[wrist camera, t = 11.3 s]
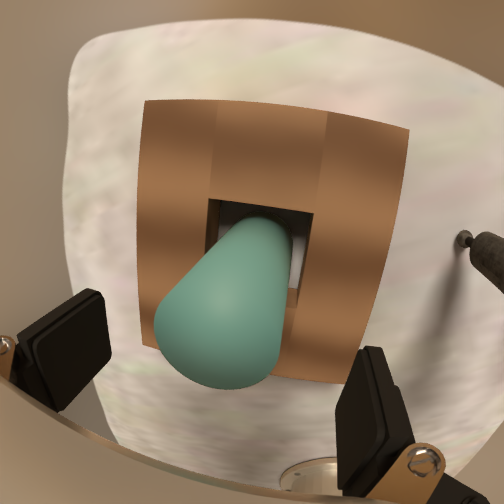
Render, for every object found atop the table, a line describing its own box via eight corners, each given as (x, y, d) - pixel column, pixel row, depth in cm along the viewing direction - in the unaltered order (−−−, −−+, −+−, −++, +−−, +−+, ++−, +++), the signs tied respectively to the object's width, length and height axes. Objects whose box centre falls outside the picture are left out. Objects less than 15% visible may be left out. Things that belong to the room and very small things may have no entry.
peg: (287, 276, 21) (269, 399, 10) (227, 266, 22) (157, 373, 10) (297, 216, 20) (290, 296, 9) (233, 207, 20) (151, 270, 9)
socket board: (341, 360, 23) (344, 384, 20) (157, 326, 25) (142, 344, 22) (394, 133, 17) (409, 129, 14) (164, 106, 19) (144, 100, 16)
